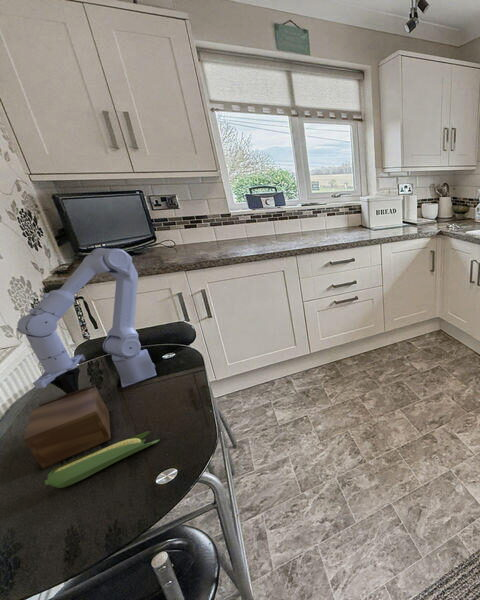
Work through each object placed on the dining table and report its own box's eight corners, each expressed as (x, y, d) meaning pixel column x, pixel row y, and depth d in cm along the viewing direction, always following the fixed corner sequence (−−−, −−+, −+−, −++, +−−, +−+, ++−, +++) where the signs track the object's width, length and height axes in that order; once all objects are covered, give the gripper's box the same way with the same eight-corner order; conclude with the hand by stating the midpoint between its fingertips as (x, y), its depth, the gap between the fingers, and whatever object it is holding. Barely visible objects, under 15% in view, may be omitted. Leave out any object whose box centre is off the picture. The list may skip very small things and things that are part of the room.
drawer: (53, 416, 93) (41, 396, 91) (104, 397, 100) (94, 377, 98) (46, 452, 80) (32, 429, 78) (105, 427, 87) (94, 405, 85)
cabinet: (48, 436, 87) (32, 409, 84) (109, 412, 95) (95, 386, 91) (42, 469, 77) (23, 439, 73) (110, 439, 84) (96, 411, 81)
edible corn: (53, 483, 72) (43, 468, 71) (160, 435, 84) (153, 421, 82) (50, 499, 69) (40, 483, 67) (162, 446, 80) (155, 432, 79)
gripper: (44, 366, 85) (68, 408, 90) (87, 340, 98) (105, 378, 103) (15, 370, 84) (40, 412, 89) (62, 343, 98) (82, 381, 103)
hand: (73, 394), depth 96 cm, fingers closed
